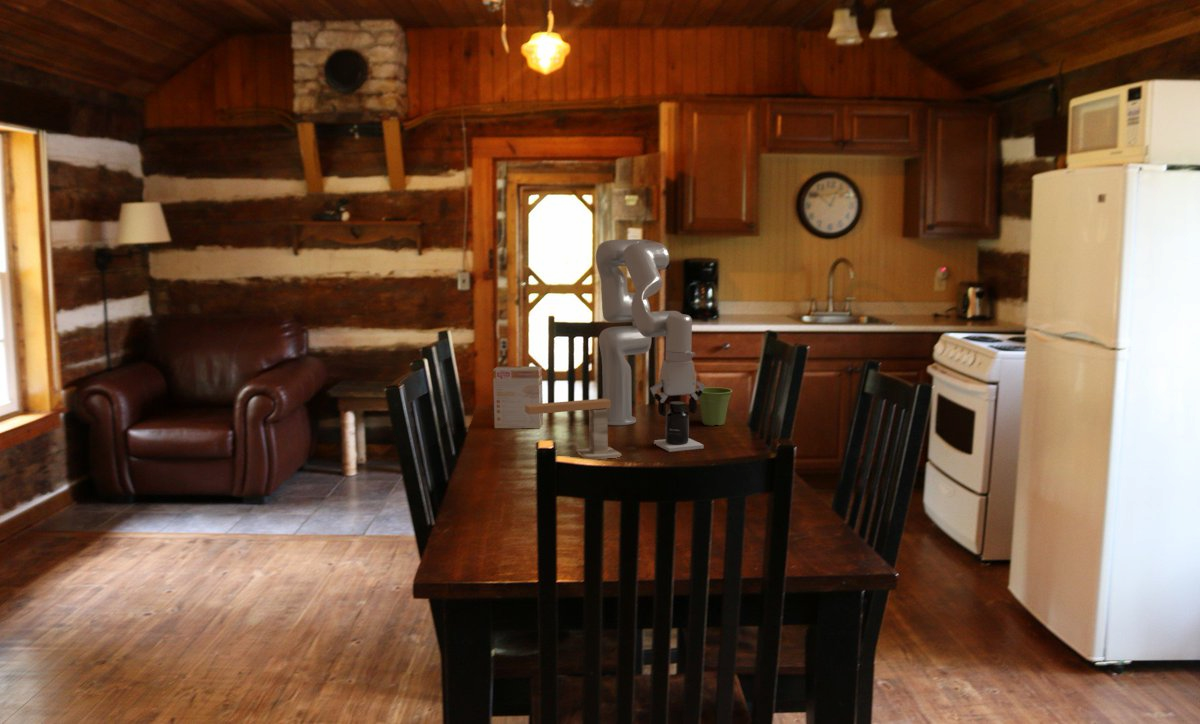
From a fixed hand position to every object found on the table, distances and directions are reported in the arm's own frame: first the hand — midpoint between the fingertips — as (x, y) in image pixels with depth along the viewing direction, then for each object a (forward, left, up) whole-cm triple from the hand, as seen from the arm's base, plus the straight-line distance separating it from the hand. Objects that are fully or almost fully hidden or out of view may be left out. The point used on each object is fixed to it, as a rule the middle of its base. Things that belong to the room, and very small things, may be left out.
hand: (677, 413), depth 292 cm
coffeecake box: (-44, -36, -10) cm, 58 cm away
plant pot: (-23, +24, -10) cm, 35 cm away
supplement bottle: (0, 0, -9) cm, 9 cm away
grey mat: (+1, 0, -10) cm, 10 cm away
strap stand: (+3, -26, -10) cm, 28 cm away
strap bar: (+3, -35, +4) cm, 35 cm away
